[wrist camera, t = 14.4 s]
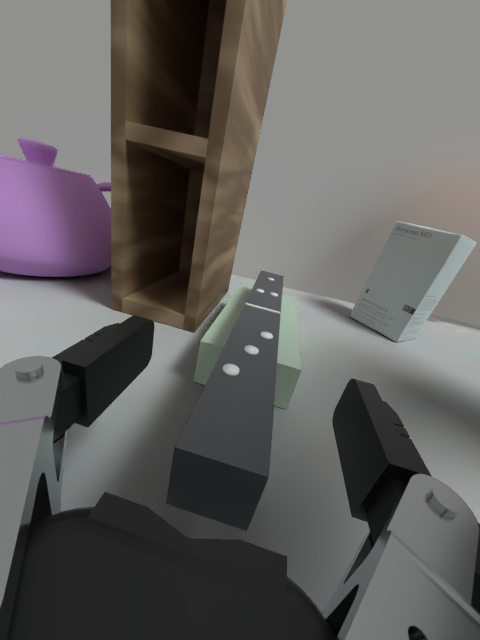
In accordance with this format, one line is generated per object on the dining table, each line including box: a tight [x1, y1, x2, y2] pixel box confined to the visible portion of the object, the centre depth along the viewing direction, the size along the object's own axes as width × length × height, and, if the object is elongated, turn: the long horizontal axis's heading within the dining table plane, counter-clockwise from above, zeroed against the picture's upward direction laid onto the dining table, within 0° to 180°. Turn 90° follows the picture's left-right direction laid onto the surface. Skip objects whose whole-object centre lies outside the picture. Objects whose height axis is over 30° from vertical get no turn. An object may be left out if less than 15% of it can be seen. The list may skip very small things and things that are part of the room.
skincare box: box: [350, 221, 476, 342], centre depth 35 cm, size 8×6×15 cm
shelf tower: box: [111, 0, 287, 332], centre depth 25 cm, size 9×15×32 cm, turn 169°
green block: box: [193, 284, 301, 409], centre depth 25 cm, size 7×16×4 cm, turn 169°
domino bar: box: [166, 271, 283, 531], centre depth 18 cm, size 3×24×3 cm, turn 170°
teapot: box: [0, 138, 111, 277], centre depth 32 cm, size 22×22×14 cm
